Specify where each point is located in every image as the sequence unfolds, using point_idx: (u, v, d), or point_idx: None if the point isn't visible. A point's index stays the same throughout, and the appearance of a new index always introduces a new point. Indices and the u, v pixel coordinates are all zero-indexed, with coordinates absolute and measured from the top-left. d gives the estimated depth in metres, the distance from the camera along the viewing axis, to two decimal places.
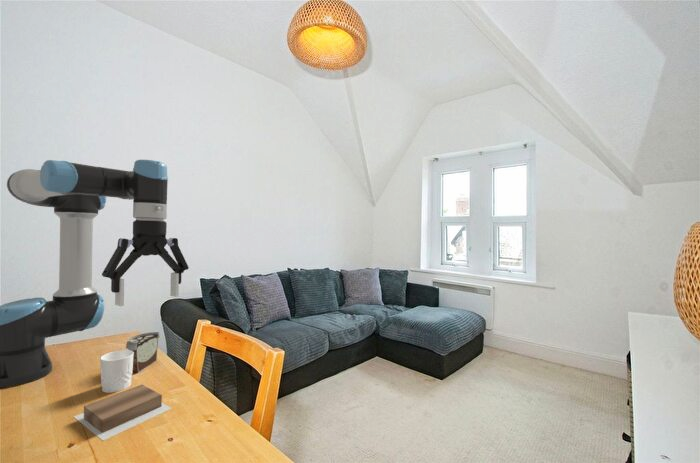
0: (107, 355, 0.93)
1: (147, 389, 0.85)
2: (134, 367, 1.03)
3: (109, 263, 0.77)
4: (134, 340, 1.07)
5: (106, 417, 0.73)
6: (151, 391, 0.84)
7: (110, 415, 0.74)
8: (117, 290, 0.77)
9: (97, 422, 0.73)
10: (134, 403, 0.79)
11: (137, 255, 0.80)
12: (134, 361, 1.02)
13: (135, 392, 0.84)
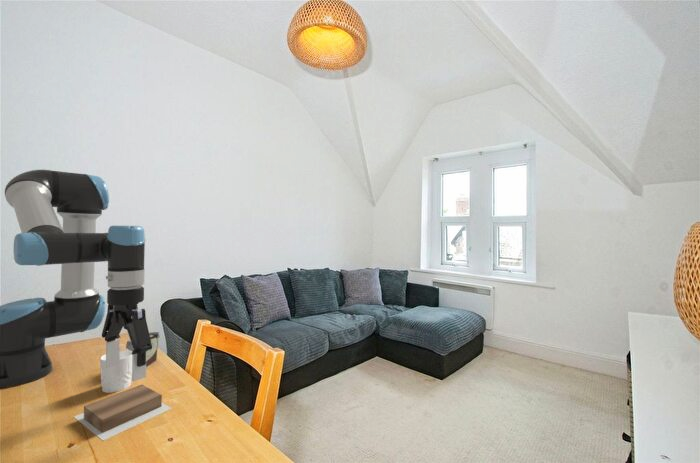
0: None
1: (147, 389, 0.85)
2: None
3: None
4: None
5: (106, 417, 0.73)
6: (151, 391, 0.84)
7: (110, 415, 0.74)
8: None
9: (97, 422, 0.73)
10: (134, 403, 0.79)
11: (111, 322, 0.80)
12: None
13: (135, 392, 0.84)
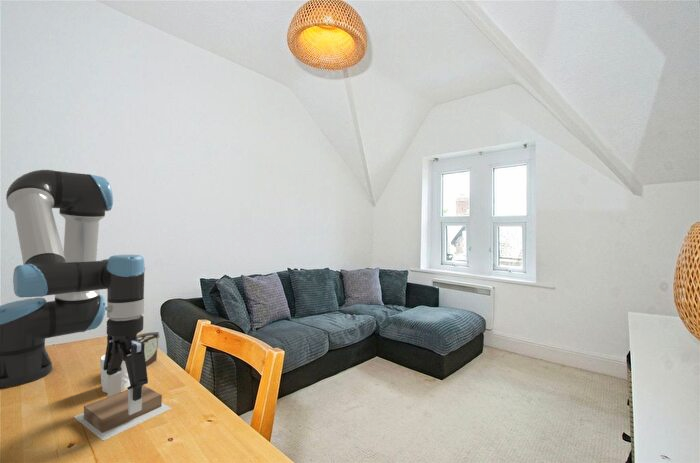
0: None
1: (147, 389, 0.85)
2: None
3: None
4: None
5: (106, 417, 0.73)
6: (151, 391, 0.84)
7: (110, 415, 0.74)
8: None
9: (97, 422, 0.73)
10: None
11: (112, 353, 0.80)
12: None
13: None
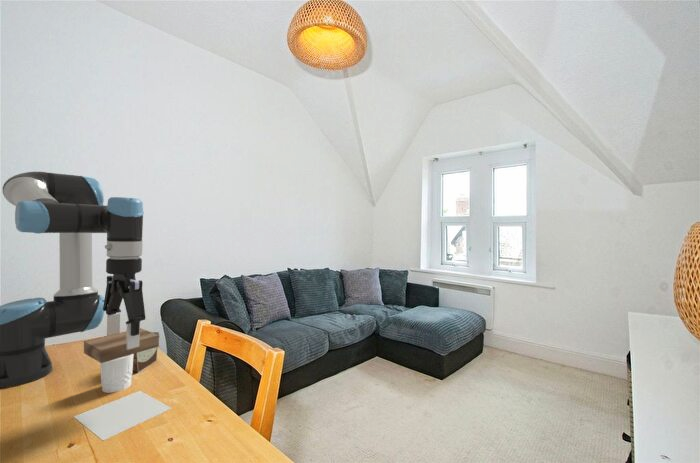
0: None
1: (145, 331, 0.88)
2: (134, 367, 1.03)
3: None
4: None
5: (105, 349, 0.75)
6: (149, 332, 0.87)
7: (109, 347, 0.76)
8: None
9: (97, 353, 0.76)
10: None
11: (111, 293, 0.83)
12: (134, 361, 1.02)
13: None
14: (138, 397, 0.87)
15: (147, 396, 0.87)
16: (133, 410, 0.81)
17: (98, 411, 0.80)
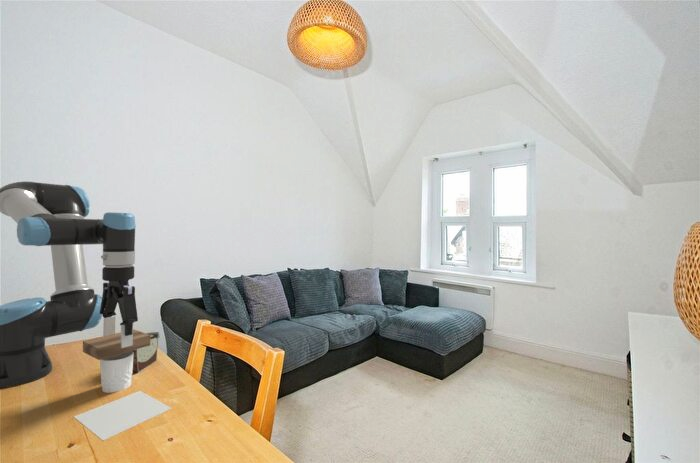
0: None
1: (138, 332, 0.98)
2: (134, 367, 1.03)
3: None
4: None
5: (102, 347, 0.85)
6: (141, 333, 0.97)
7: (105, 346, 0.86)
8: None
9: (94, 351, 0.85)
10: None
11: (107, 298, 0.93)
12: (134, 361, 1.02)
13: None
14: (138, 397, 0.87)
15: (147, 396, 0.87)
16: (133, 410, 0.81)
17: (98, 411, 0.80)
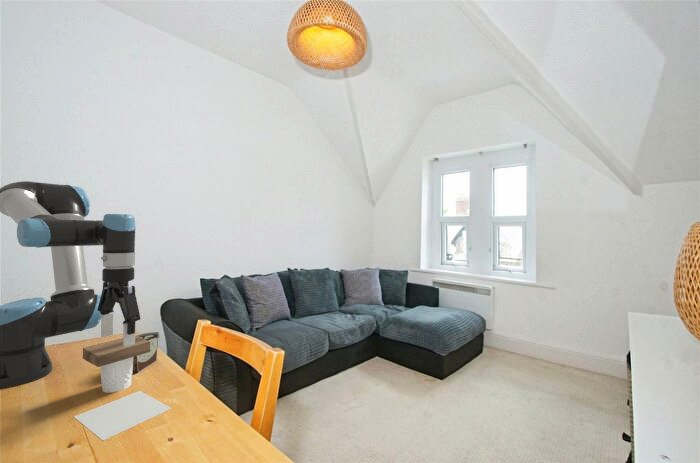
0: None
1: (138, 338, 0.98)
2: (134, 367, 1.03)
3: None
4: None
5: (101, 354, 0.85)
6: (141, 339, 0.97)
7: (105, 353, 0.86)
8: None
9: (94, 359, 0.85)
10: (126, 346, 0.91)
11: (106, 297, 0.93)
12: (134, 361, 1.02)
13: None
14: (138, 397, 0.87)
15: (147, 396, 0.87)
16: (133, 410, 0.81)
17: (98, 411, 0.80)
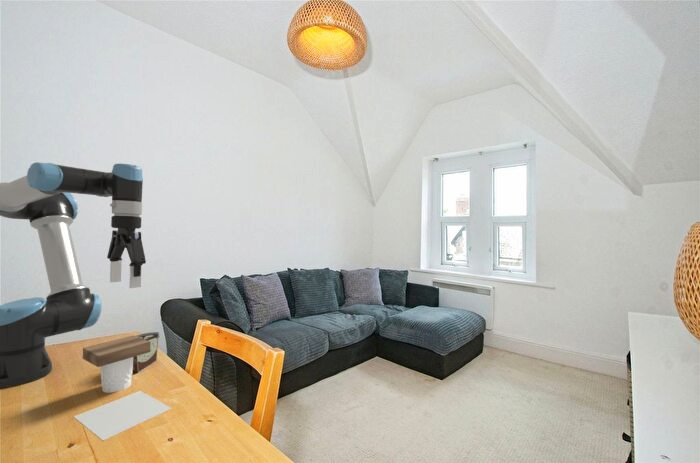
0: None
1: (138, 338, 0.98)
2: (134, 367, 1.03)
3: None
4: None
5: (102, 354, 0.85)
6: (141, 339, 0.97)
7: (105, 353, 0.86)
8: None
9: (94, 359, 0.85)
10: (126, 346, 0.91)
11: (115, 244, 0.98)
12: (134, 361, 1.02)
13: (127, 340, 0.96)
14: (138, 397, 0.87)
15: (147, 396, 0.87)
16: (133, 410, 0.81)
17: (98, 411, 0.80)
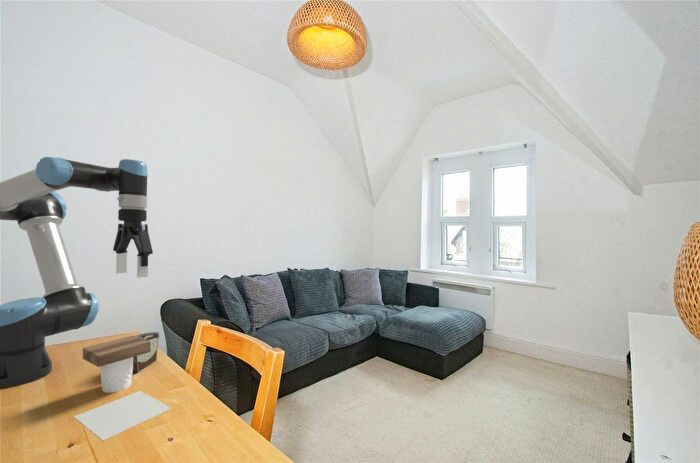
0: None
1: (138, 338, 0.98)
2: (134, 367, 1.03)
3: None
4: None
5: (102, 354, 0.85)
6: (141, 339, 0.97)
7: (105, 353, 0.86)
8: None
9: (94, 359, 0.85)
10: (126, 346, 0.91)
11: (121, 236, 1.03)
12: (134, 361, 1.02)
13: (127, 340, 0.96)
14: (138, 397, 0.87)
15: (147, 396, 0.87)
16: (133, 410, 0.81)
17: (98, 411, 0.80)
